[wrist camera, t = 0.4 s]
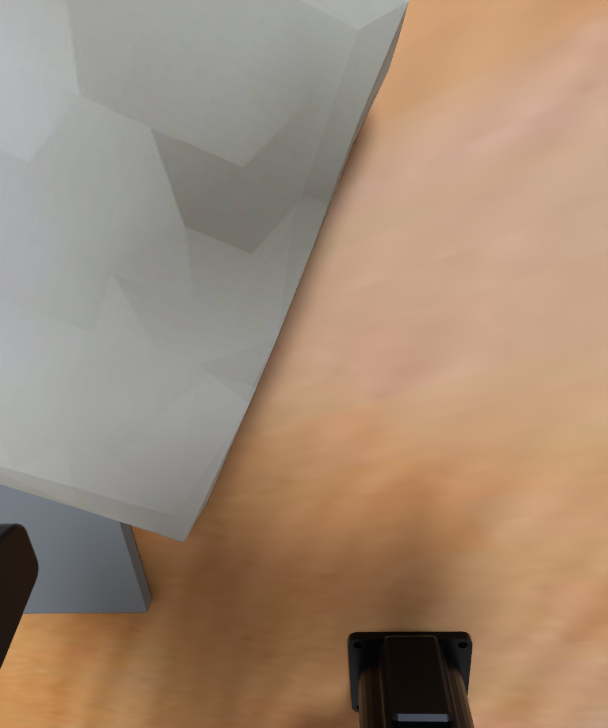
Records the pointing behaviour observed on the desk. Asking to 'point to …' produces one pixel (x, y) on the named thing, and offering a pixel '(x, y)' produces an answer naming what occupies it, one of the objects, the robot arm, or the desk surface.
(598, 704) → the desk surface
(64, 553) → the mat
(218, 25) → the light grey block
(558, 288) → the desk surface
